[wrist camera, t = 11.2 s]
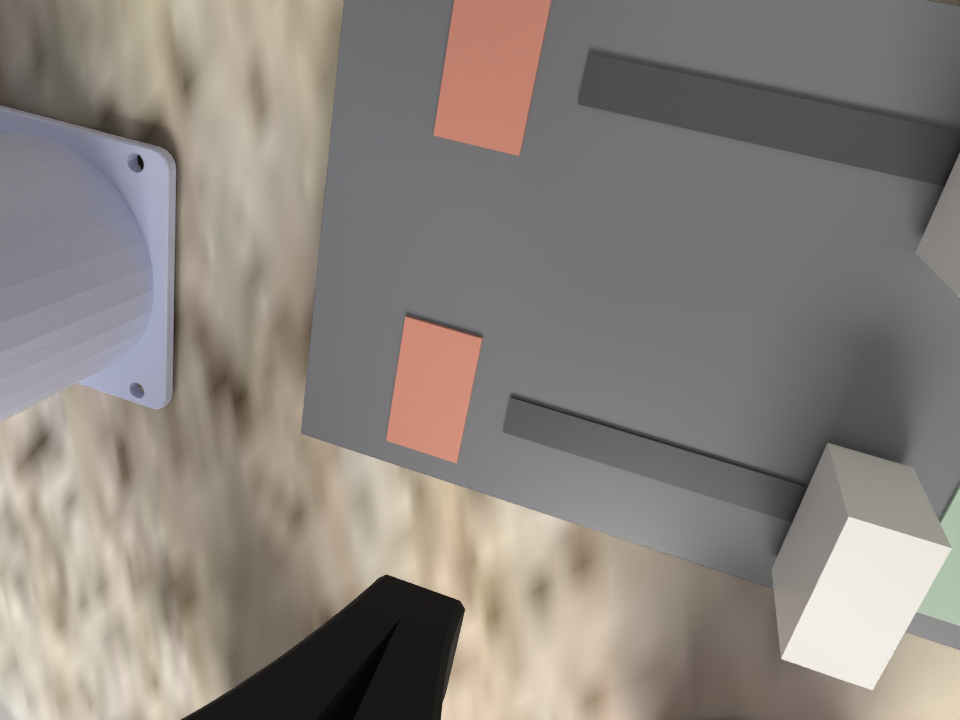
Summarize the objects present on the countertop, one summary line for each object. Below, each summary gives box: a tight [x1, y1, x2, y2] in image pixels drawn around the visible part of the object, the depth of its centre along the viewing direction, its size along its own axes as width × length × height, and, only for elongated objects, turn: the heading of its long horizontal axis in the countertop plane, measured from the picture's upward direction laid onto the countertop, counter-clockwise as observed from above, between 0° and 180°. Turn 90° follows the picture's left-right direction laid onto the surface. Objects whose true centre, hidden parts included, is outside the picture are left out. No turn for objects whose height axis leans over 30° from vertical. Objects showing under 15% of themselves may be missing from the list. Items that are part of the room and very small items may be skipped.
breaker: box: [771, 443, 952, 690], centre depth 16 cm, size 2×4×3 cm, turn 169°
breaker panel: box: [301, 0, 960, 650], centre depth 17 cm, size 20×13×2 cm, turn 79°
